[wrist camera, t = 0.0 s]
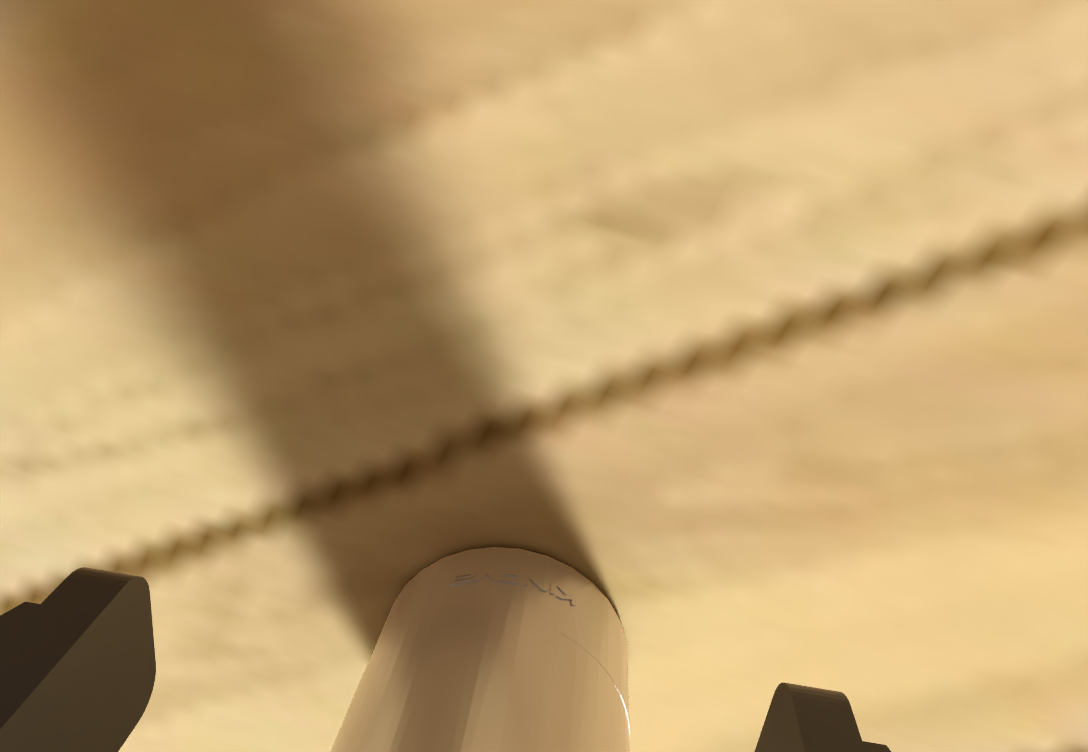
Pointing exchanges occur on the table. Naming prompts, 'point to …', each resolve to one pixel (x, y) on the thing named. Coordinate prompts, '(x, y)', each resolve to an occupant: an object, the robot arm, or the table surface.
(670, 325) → the table surface
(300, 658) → the table surface
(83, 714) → the robot arm
